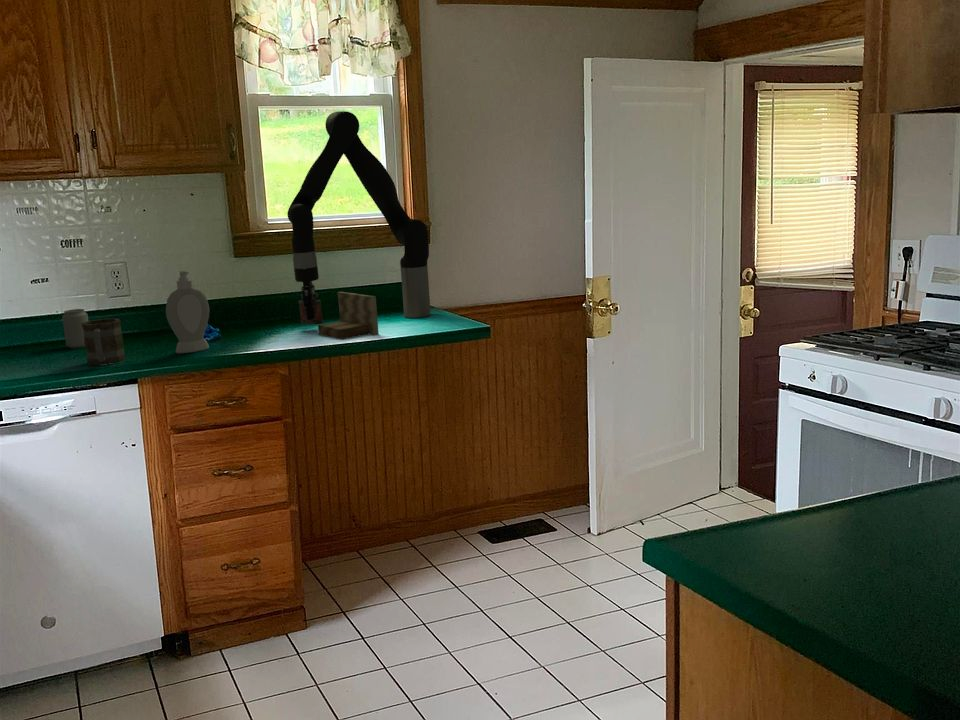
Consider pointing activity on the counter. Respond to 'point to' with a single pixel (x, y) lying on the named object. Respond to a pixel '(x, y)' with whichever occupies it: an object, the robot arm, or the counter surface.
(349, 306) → the wooden bookend
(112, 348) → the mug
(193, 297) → the soap bottle
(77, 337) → the can
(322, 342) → the counter surface
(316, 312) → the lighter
